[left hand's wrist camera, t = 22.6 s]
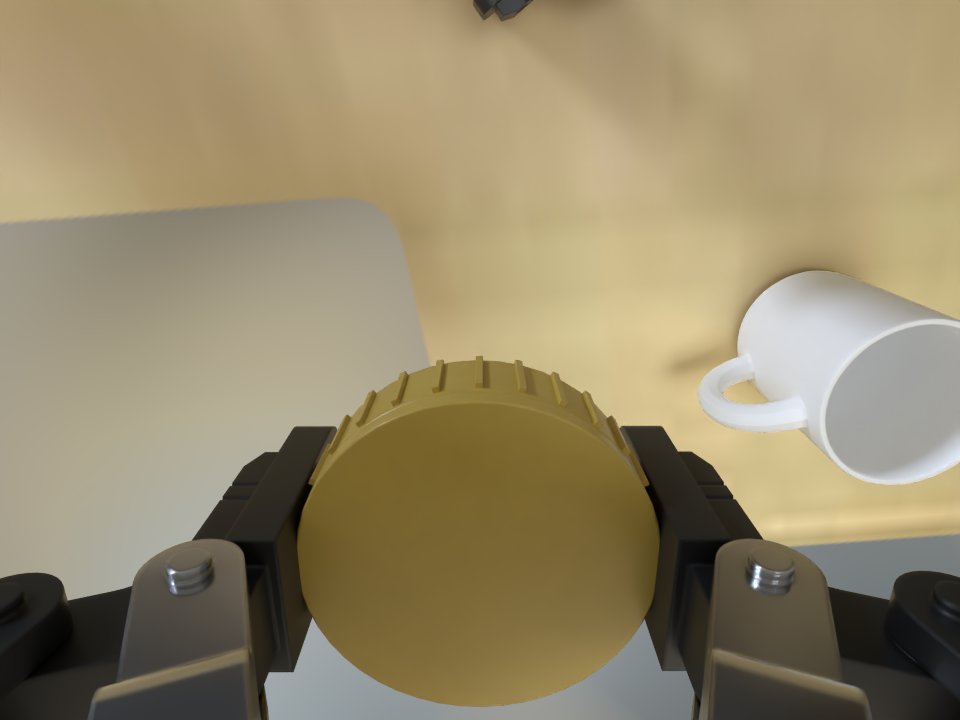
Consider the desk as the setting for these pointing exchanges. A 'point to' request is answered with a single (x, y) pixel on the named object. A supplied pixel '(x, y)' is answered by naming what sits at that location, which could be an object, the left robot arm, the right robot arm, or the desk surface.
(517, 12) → the right robot arm
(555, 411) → the lid
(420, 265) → the desk surface
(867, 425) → the mug
